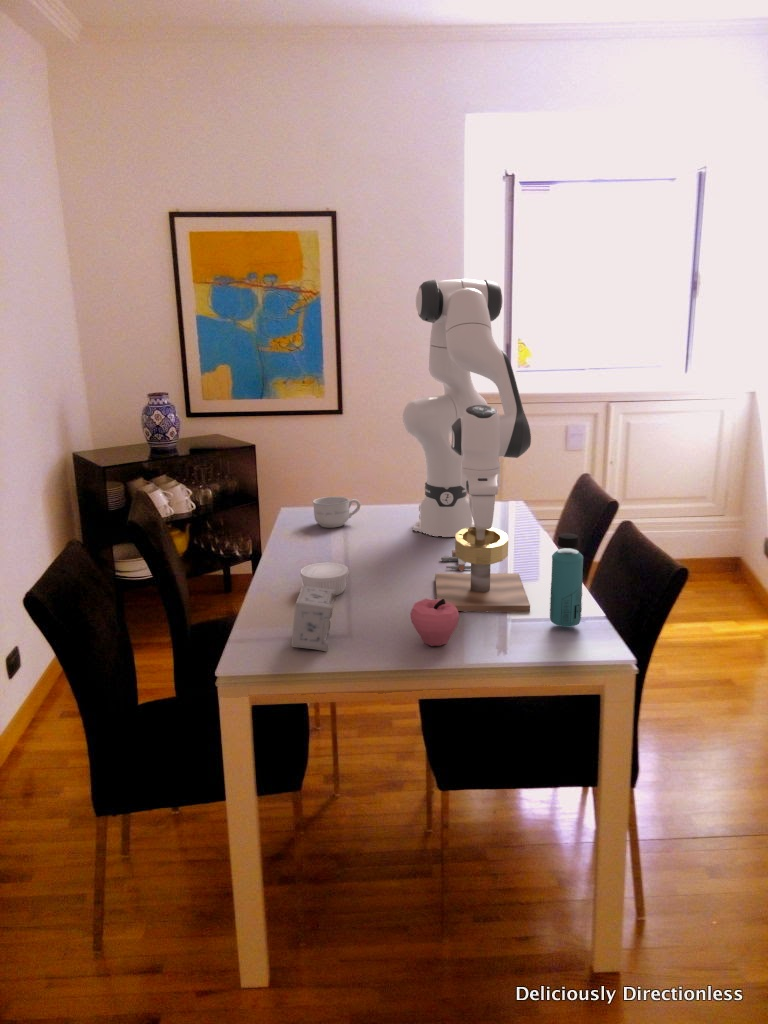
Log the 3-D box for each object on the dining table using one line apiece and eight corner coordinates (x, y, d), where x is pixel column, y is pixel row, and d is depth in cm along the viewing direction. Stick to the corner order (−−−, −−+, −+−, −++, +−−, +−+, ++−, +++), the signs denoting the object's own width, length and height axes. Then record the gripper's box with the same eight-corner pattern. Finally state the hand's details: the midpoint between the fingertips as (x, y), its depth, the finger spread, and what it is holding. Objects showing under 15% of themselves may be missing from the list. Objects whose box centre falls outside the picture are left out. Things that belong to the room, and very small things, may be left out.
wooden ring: (454, 542, 188) (454, 526, 187) (504, 542, 188) (504, 526, 186) (456, 564, 178) (456, 548, 176) (509, 564, 177) (510, 547, 176)
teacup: (311, 530, 236) (310, 504, 233) (316, 520, 246) (315, 494, 244) (359, 530, 235) (358, 503, 233) (361, 519, 245) (361, 494, 243)
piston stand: (435, 579, 195) (435, 546, 193) (518, 579, 194) (519, 545, 192) (437, 612, 176) (437, 575, 174) (530, 611, 175) (531, 575, 173)
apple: (455, 633, 165) (456, 588, 162) (461, 652, 157) (462, 604, 154) (409, 635, 165) (408, 589, 162) (412, 654, 156) (412, 606, 154)
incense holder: (333, 652, 158) (331, 603, 155) (291, 652, 158) (288, 603, 155) (338, 631, 167) (336, 584, 164) (298, 631, 167) (295, 584, 165)
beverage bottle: (575, 636, 163) (580, 541, 157) (544, 629, 166) (547, 537, 161) (584, 624, 168) (589, 532, 163) (553, 618, 172) (557, 528, 166)
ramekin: (296, 586, 193) (295, 565, 191) (341, 579, 196) (340, 559, 195) (307, 602, 183) (306, 580, 181) (354, 595, 186) (354, 574, 185)
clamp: (441, 549, 212) (479, 549, 211) (441, 557, 212) (479, 557, 212) (441, 569, 197) (482, 569, 197) (441, 577, 198) (482, 577, 197)
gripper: (463, 468, 193) (463, 524, 197) (469, 489, 173) (468, 550, 177) (490, 468, 193) (489, 523, 196) (499, 489, 173) (497, 550, 177)
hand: (479, 536), depth 187 cm, fingers closed on wooden ring, 2 cm apart
